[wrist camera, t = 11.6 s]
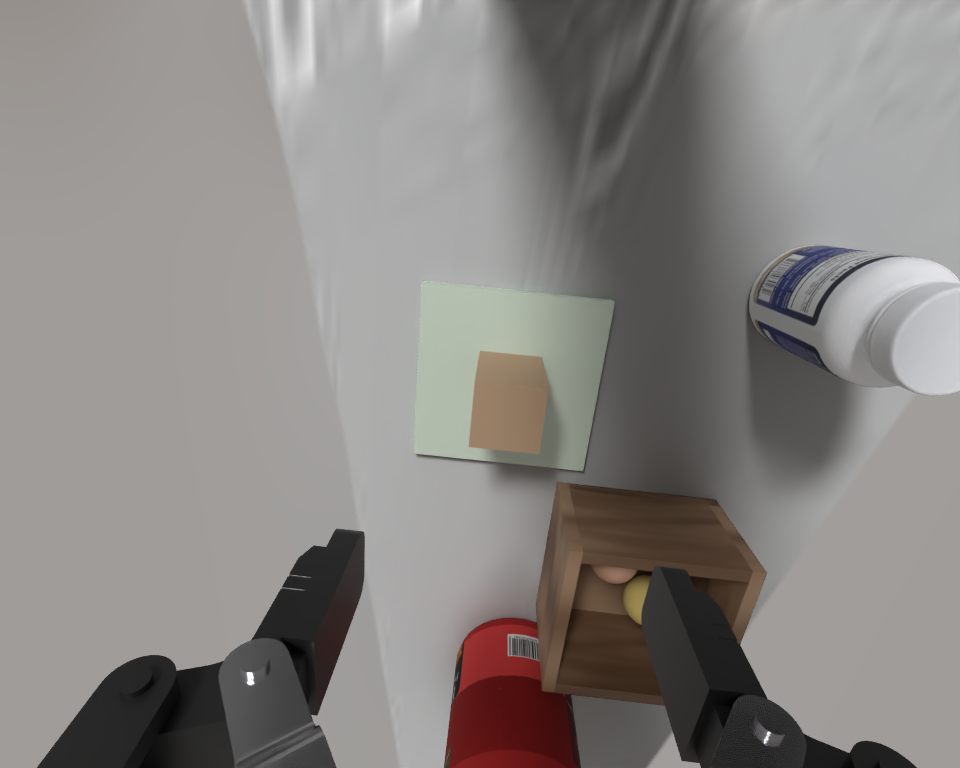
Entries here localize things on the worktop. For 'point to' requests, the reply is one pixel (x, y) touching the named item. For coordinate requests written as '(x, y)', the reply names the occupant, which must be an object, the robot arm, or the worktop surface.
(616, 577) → the ball terracotta
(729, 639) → the robot arm
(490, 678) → the canned food
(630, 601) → the ball mustard
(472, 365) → the lid
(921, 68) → the worktop surface
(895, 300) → the pill bottle
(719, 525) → the box
